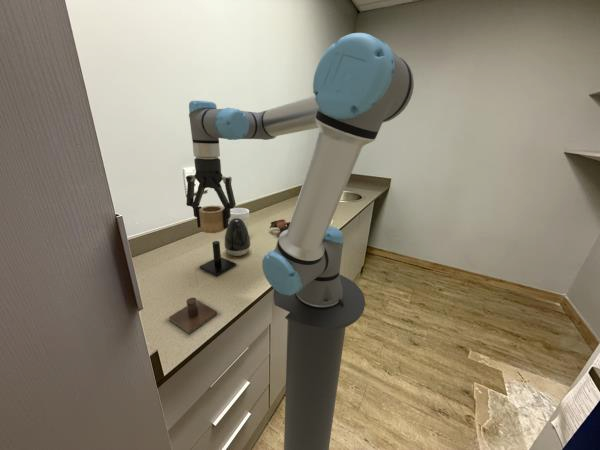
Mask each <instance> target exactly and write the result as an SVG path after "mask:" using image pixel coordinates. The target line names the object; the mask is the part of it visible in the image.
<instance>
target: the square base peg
mask: <svg viewBox="0 0 600 450" xmlns="http://www.w3.org/2000/svg"><path fill="white" fill-rule="evenodd" d="M220 242H221V241H219V240H214V241H212V244H211V245H212V253H213V255H212V256H213V258H212V259H211V260H209V261H207V262H204V263H203V264H200V265H199V266H198V267H199V269H200V270H202V271H204V272H206V273H208V274H210V275H213V276H215V277H219V276H220V275H222V274H224V273H226V272H228V271H229V270H231V269H233V268H234V267H236V266H237V263H236V262H233V261H231V260H229V259H226V258H224V257H222V255H221V244H220Z"/></svg>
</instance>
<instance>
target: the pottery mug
mask: <svg viewBox="0 0 600 450" xmlns="http://www.w3.org/2000/svg"><path fill="white" fill-rule="evenodd" d="M290 222H291V221H289V222H288V221H286V219H284V218H283V219H278V220H273V221H271V222H270V226H269V229H274V228H275V229H276V228H277V229H279V231H278V232H276V236H277V238H279V236H280V234H281V233H282V232H283V231H285V230H288V228H289V225H290Z"/></svg>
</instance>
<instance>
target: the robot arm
mask: <svg viewBox="0 0 600 450" xmlns="http://www.w3.org/2000/svg"><path fill="white" fill-rule="evenodd" d="M414 83H415V82H414V75H413V71H412V69H411V66H410V65H409V64H408V63H407V62H406V61H405V60H404V59H403V58H402V57H400V56H399V54H397V53H396V52H395V51H393V49H391V47H390V45H388V43H386V41H384V40H383V39H379V38H377V37H375V36H373V35H371V34H369V33H366V32H353V33H349V34H347V35H344V36H342V37H340V38H338V40H337V41H336V42H334V43H333V44H331V45H330V46H329V47H328V48H327V49H326V50H325V51H324V53H323V54H322V56H321V58H320V60H319V61H318V64H317V66H316V68H315V71H314V75H313V82H312V90H313V92H312V93H313V94H314V95H312V96H310V97H306V98H302V99H299V100H296V101H292V102H288V103H286V104H283V105H282V104H281V105H279V106H276V107H272V108H269V109H267V110H263V111H259V112H256V111H254V112H253V111H247V110H241V109H238V108H232V107H225V108H218V107H217V104H216V103H215V102H214V101H208V100H195V99H193V100H191V101H189V103H188V111H189V112H188V118H189V125H190V132H191V141H192V152H193V157H195V158H194V159H193V160H194V169H195V173H194V174H189V175H186V177H185V179H186V182H187V188H186V204H185V205H186V206H187V207H191V208H192V212H193V216H194V218H196V222H197V224H196V225H197V228H200V219H199V210H198V209H200V208H201V207H202V206H200V203H201V201H202V198H203V195H204V192H205V190H206V189H213V190H214V191H215V192H216V194H217V197H218V198H219V200H220V202H221V203H222V207H224V209H223V224H224V229H225V230H227V227H228V224H229V218H230V217H231V213H230V209H234V208H236V206H237V204H236V199H235V195H234V191H233V186H232V177H231V176H224V175H223V173H222V165H221V164H222V161H221V159H220V158H219V157H221V151H220V139H224V140H229V141H237V140H262V141H263V140H264V141H267V140H268V141H269V140H274V139H275V138H277V137H279V136H284V135H289V134H295V133H299V132H305V131H310V130H315V129H318V130H319V131H318V132H319V133H318V134H317V135H318V136H317V138H316V142H315V145H314V147H313V151H312V154H311V156H310V160H309V162H308V163H309V164H308V166H307V169H306V173H305V176H304V180H303V181H302V184H301V189H300V191H299V194H298V197H297V199H296V204H295V207H294V210H293V212H292V216H291V218H290V221H289V222H290V225H289V228H288V230H285V231H283V232H282V233H281V234H280V236H279V237H277V243H276V245H275V248H274V249H273V250H271V251H268V252H267V254H265V255H264V256H263V258H262V262H261V267H262V273H263V275H264V277H265V279H266V281H267V283H268V284H269V285H270V286H271V287H272V288H273V290H274V289H275V290H276V291H277V292H279V293H281V294H283V295H293V294H296V297H297V299H298V300H299V301H300V302H301V303H302V304H304V305H305V306H308V307H310V308H314V309H330V308H333V307H335V306H337V305H338V304H339V303H340V304H341V305H342V306H343V305H344V303H343V301H342V297H343V289H342V285H341V281H340V277H339V274H340V272H341V264H342V256H343V255H342V254H343V247H344V243H345V242H344V232H342V231H341V230H340V229H339V228H337V227H335V226H331V225H330V224H331V222H332V220H333V217H334V214H335V212H336V210H337V207H338V205H339V203H340V201H341V199H342V196H343V195H344V192H345V189H346V187H347V185H348V182H349V181H350V177H351V175H352V173H353V170H354V168H355V165H356V163H357V161H358V159H359V156H360V154H361V151H362V150H363V148H364V147H365V146H366V145H368V144H370V143H373V142H374V141H376V139H377V137H378V134H379V132H380V130H381V127H382V125H383V123H386V122H390V121H391V120H394V119H395V118H397V117H398V116H399V115H401V114H402V112H404V111H405V109H406V108H407V107H408V105H409V103H410V101H411V99H412V96H413V94H414V93H413V92H414V85H415V84H414ZM196 181H197V182H198V183H199V184H198V186H197V191H196V193H195V184H196V183H195V182H196ZM221 182H222V183H223V184H224V187H225V192H226V194H225V192H224V190H223V187H222V185H221Z"/></svg>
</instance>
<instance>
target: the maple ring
mask: <svg viewBox="0 0 600 450" xmlns="http://www.w3.org/2000/svg"><path fill="white" fill-rule="evenodd" d="M223 209H224V206H223V205H222V206H221V205H205V206H201V208H200V209H198V210H199V219H200V227H199V229H200V232H202V233H205V234H217V233H221V232H223V231H226V229H224V224H223Z"/></svg>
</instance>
